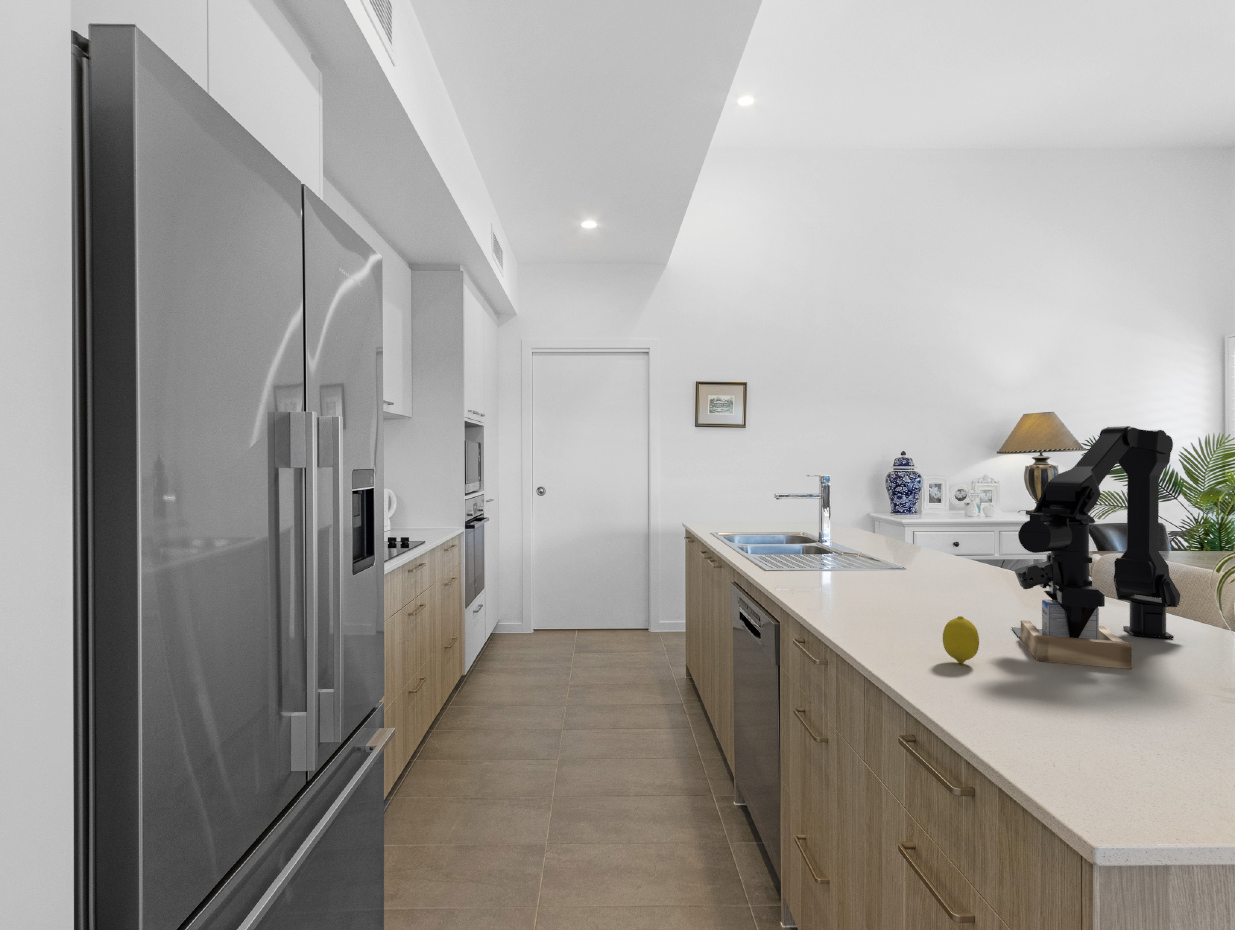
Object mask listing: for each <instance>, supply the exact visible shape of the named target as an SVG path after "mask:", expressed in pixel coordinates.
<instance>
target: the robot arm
mask: <svg viewBox="0 0 1235 930" xmlns="http://www.w3.org/2000/svg"><path fill="white" fill-rule="evenodd" d="M1173 447H1174V441H1173V438H1172V437H1171V436H1170V435H1168V434H1167V432H1165V430H1162V429H1148V430H1147V429H1140V428H1137V427H1133V426H1132V427H1131V426H1129V425H1125V426H1107V427H1104V428H1102V429H1101V431H1100V432H1099V437H1098V438H1097V439H1096V441H1095V442H1094V443H1093V444H1092V445H1091V446H1090V447H1089V449H1087V451H1086V452H1085V453H1084V454H1083V455H1082V457H1081V458H1080V460H1078V462H1076V464H1075V465H1074V466H1073V467H1072V468H1070V469H1068V470H1065V471H1063V472H1060V473H1057V474H1056V475H1055V476H1054V477H1053V478H1051V479H1050V480H1049V481H1048V482H1047V483H1046V484H1045V486H1044V488H1043V490H1042V493H1041V495H1040V497H1039V499H1038V501H1037V503H1036V506H1035V507H1034V510H1033V512H1031V513H1029V520H1027V521H1025V522H1024V523H1023V524H1022V525H1021V527H1020V528H1019V530H1018V541H1019V543H1020V545H1021V547H1023V549H1025V550H1026V551H1027V552H1030V553H1033V554H1034V553H1035V554H1039V553H1047V554H1046V561H1041V562H1037V563H1032V564H1029V565H1026V566H1022V567H1018V568H1015V569H1014V570H1013V571H1014V575H1016V579H1017V580H1018V582H1019V586H1020V587H1021V588H1022V589H1023V590H1030V589H1033V588H1034V587H1037V586H1039V588H1042V589H1047V587H1048V590H1044V591H1043V593H1044V594H1045V595H1046V596H1048V597H1049V598H1050V600H1055V602H1056V603H1057V604H1058V605H1060V606H1061V607H1062V608H1063V609H1064V612H1065V617H1066V623H1067V628H1068V633H1069V638H1079V637H1080V635H1081V633H1082V631H1083V629H1084V628H1085V626H1086V624H1087V622H1088V621H1089V619H1090V617H1091V616H1092V614H1093V613H1094V611H1095V610H1096V608H1101V607H1102V608H1104V607H1106V605H1105V603H1106V595H1105V594H1104V593H1102V592H1101V591H1100V590H1099V589H1098V588H1096V587H1095V586H1093V580H1092V579H1090V564H1093V557H1092V556H1091V555H1090V524H1095V523H1096V520H1095V518H1094V517H1093V516H1091V515H1090V512H1091V511H1092V510H1093V509H1094V507H1096V505H1097V503H1098V501H1099V499H1100V497H1101V495H1102V494H1101V489H1100V486H1101V483H1102V482H1103V481H1104V479H1105V478H1106V477H1107V476H1108V474H1109V473H1110V472H1111V471H1112V470H1113V468H1115V466H1116V465H1117V464H1118V465H1119V466H1120V468H1121V469H1122V470H1123V472H1124V473H1125V474H1126V476H1127V481H1126V482H1127V489H1126V491H1127V497H1126V499H1127V500H1126V503H1127V505H1126V507H1127V508H1126V512H1127V513H1126V550H1125V551H1124V552H1123V554H1121V556H1120V557H1116V558H1115V560H1114V562H1113V564H1114V573H1113V583H1114V587H1115V592H1116V597H1117V600H1119V601H1129V625H1128V626H1127V625H1123V627H1122V629H1123V630H1124V631H1126V632H1128V633H1129V634H1131V635H1132V636H1135V637H1136V636H1137V637H1147V638H1149V637H1150V638H1162V639H1174V635H1173V634H1171V633H1169V632H1168V631H1167V608H1177V607H1178V606H1179V605H1180V601H1181V592H1180V591H1179V590H1178V588H1177V587H1176V584H1175V583H1174V581H1173V580H1172V578H1171V576H1170V567H1169V564H1168V562H1167V561H1166V560H1165V558H1164V557H1163V556H1162V554H1161V552H1159V513H1160V512H1159V507H1160V506H1159V500H1160V499H1159V498H1160V497H1159V494H1160V492H1159V491H1160V490H1159V489H1160V485H1159V484H1160V476H1161V475H1162V473H1163V472H1164V470H1165V469H1166V468H1167V466H1168V465H1169V464H1170V461H1171V453H1172V451H1173Z"/></svg>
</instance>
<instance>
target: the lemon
mask: <svg viewBox="0 0 1235 930" xmlns="http://www.w3.org/2000/svg"><path fill="white" fill-rule="evenodd" d="M942 631H943V632H942V645H943V649H944V651H945V652H946V653H947V655H948V656H950V658H953V659H954V660H956V662H957V663H958V664H961V665H963V664H964V663H966V661H970V660H971V659H973V658H975V656H976V655H977V653H978V651H979V648H980V647H979V646H980V636H979V633H978V629H977V628H976V626H975V624H974V623H972V622H971V621H970V620H969V619H966V618H965V617H964V616H962V615H960V616H957V617H956V618H953V619H951V620H949V621H948V622H946V624H945V626H944V628H943V630H942Z"/></svg>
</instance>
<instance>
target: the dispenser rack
mask: <svg viewBox="0 0 1235 930" xmlns="http://www.w3.org/2000/svg"><path fill="white" fill-rule="evenodd" d="M1020 628H1021V638H1020V640H1021V639H1022V640H1021V641H1022V642H1023V644H1024V643H1025V644H1024V645H1025V647H1026V648H1027V649H1028V651H1029V652H1030V653H1031V654H1032V656H1033V657H1034V658H1035V660H1036V661H1038V662H1049V663H1061V664H1068V665H1069V664H1070V665H1071V664H1072V665H1083V666H1091V667H1092V666H1093V667H1104V668H1107V667H1108V668H1115V669H1116V668H1118V669H1129V670H1130V669H1131V670H1132V668H1133V667H1132V666H1133V665H1132V660H1133V659H1132V657H1133V656H1132V647H1133V646H1132V643H1130V642H1129V641H1124V640H1123V639H1121V638H1120V637H1119V636H1117V635H1116V634H1114V633H1113V632H1112V631H1111V630H1109V629H1108V628H1107V627H1106V626H1105V625H1099V640H1094V639H1081V638H1067V637H1054V636H1043V635H1042V634H1041V633H1040V631H1039V630H1038V629H1039V628H1037V626H1035V625H1034V623H1033V622H1032V621H1031V620H1023V619H1021V620H1020Z"/></svg>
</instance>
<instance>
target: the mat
mask: <svg viewBox="0 0 1235 930" xmlns="http://www.w3.org/2000/svg"><path fill="white" fill-rule="evenodd" d="M1010 628H1012V629H1013V630H1012V629H1011V630H1012V631H1013V633H1014V632H1015V633H1016V634H1015V633H1014V634H1015V635H1016V637H1017V636H1018V637H1019V638H1018V637H1017V638H1018V639H1021V627H1018V626H1017V627H1016V626H1011V627H1010ZM1037 629H1038V630H1039V631H1040V633H1041V634H1042V628H1037Z"/></svg>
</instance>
